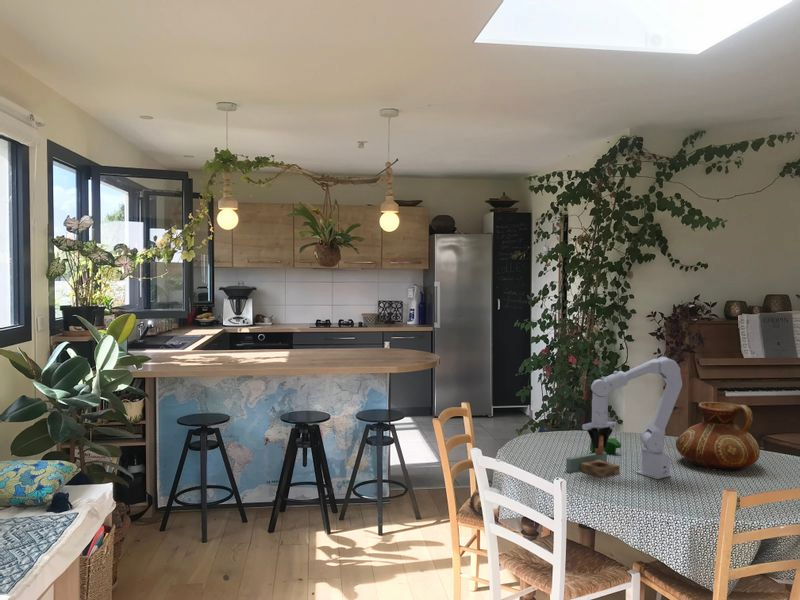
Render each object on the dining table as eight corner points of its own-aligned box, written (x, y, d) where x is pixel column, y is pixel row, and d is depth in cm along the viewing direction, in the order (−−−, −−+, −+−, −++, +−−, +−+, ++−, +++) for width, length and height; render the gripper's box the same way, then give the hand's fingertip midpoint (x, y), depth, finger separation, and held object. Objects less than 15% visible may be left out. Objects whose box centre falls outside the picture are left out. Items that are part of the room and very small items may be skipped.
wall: (606, 465, 257) (606, 452, 257) (570, 472, 247) (570, 459, 246) (602, 463, 259) (602, 451, 259) (566, 471, 248) (566, 458, 248)
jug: (671, 468, 253) (672, 404, 253) (678, 450, 280) (679, 392, 279) (760, 479, 239) (761, 411, 239) (758, 460, 266) (759, 398, 265)
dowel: (605, 454, 247) (605, 436, 246) (598, 455, 245) (598, 436, 245) (599, 452, 249) (599, 434, 249) (593, 453, 248) (593, 434, 248)
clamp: (599, 465, 272) (595, 448, 269) (592, 458, 278) (587, 441, 275) (624, 453, 274) (620, 436, 271) (616, 447, 279) (612, 429, 276)
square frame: (619, 473, 246) (619, 465, 246) (600, 477, 241) (600, 469, 240) (598, 467, 254) (598, 459, 254) (580, 470, 249) (580, 463, 249)
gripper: (591, 415, 240) (590, 451, 241) (622, 412, 246) (621, 448, 246) (578, 411, 247) (578, 447, 247) (609, 408, 253) (609, 443, 253)
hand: (599, 447), depth 247 cm, fingers closed on dowel, 3 cm apart
